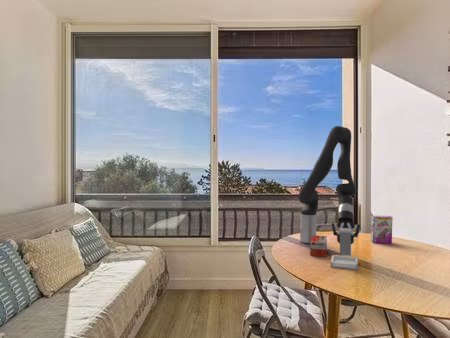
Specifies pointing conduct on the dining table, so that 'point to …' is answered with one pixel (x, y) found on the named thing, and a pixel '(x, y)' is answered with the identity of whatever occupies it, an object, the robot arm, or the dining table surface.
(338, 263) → the tray
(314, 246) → the medicine box
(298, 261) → the dining table surface
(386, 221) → the candy bar box
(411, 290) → the dining table surface
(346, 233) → the tall grey carton
